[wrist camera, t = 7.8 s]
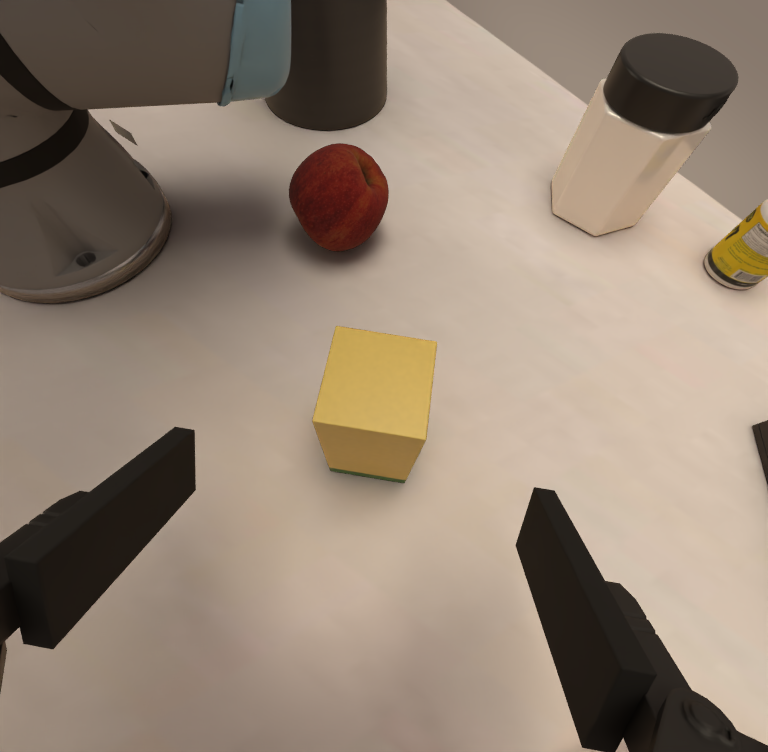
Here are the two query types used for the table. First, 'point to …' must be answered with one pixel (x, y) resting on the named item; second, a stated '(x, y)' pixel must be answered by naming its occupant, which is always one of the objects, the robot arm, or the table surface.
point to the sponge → (375, 403)
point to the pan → (762, 443)
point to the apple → (339, 196)
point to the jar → (640, 130)
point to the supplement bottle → (742, 252)
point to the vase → (334, 64)
